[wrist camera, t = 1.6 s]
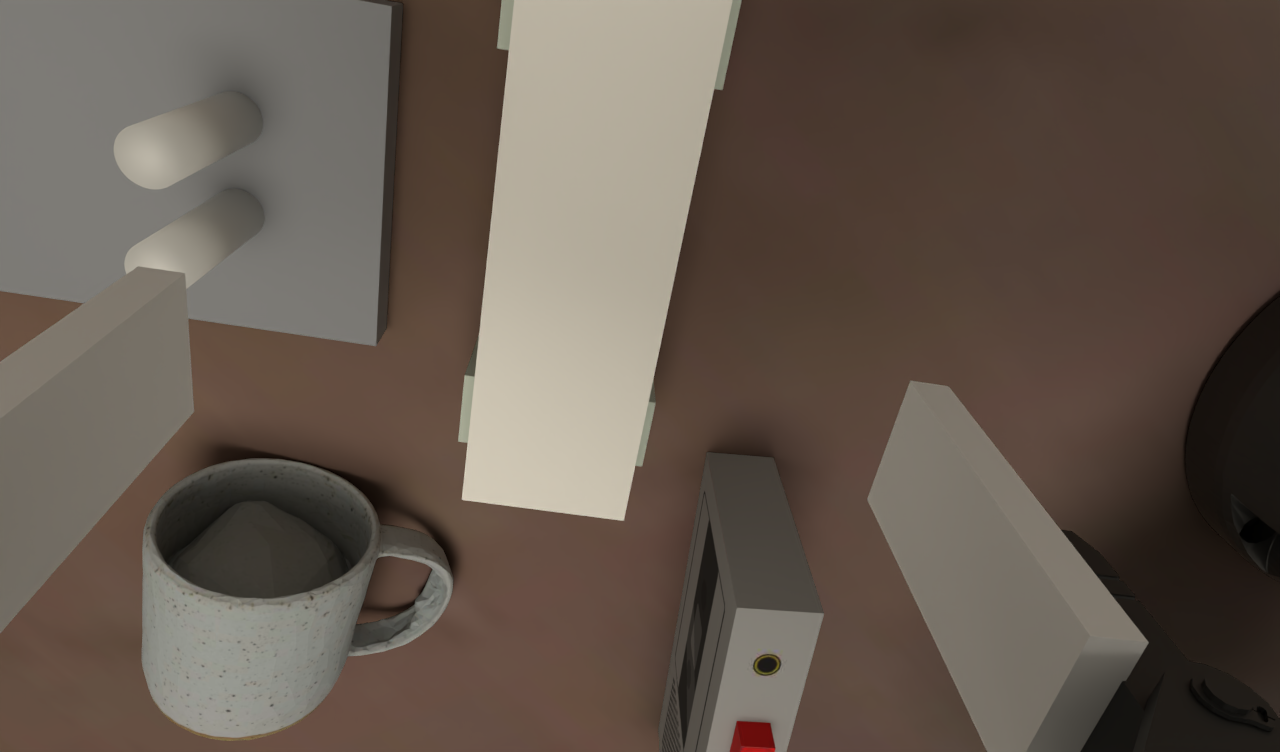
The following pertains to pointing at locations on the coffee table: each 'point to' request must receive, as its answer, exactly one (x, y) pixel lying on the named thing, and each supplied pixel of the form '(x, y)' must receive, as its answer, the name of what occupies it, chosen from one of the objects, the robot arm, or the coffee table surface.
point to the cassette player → (740, 617)
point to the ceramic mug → (267, 593)
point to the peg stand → (204, 155)
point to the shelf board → (585, 243)
